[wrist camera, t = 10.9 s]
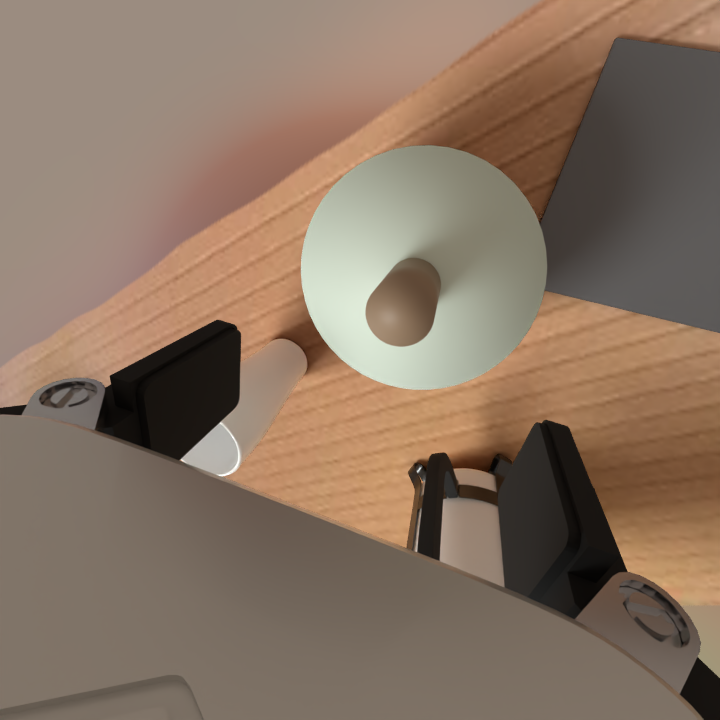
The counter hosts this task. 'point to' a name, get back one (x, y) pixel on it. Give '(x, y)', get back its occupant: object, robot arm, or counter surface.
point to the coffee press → (459, 515)
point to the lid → (424, 267)
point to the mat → (643, 189)
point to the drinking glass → (251, 407)
